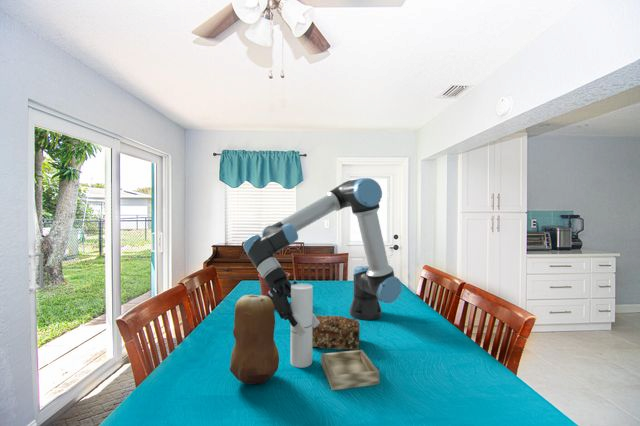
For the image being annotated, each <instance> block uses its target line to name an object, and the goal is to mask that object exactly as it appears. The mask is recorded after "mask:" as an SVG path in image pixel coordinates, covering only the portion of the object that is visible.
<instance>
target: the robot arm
mask: <svg viewBox="0 0 640 426" xmlns="http://www.w3.org/2000/svg"><path fill="white" fill-rule="evenodd" d="M382 197H383V191H382V188H381V185H380V184H379V182H377V181H376V180H375V179H374V178H369V177H365V178H364V177H361V178H357V179H353V180H351V179H350V180H347V181H344V182H343V183H340V184H339V185H338V186H336V187H334V188H333V189H331V190H329V191H328V192H327V193H326V195H325V196H324V197H322V198H319V199H318V200H316V201H313V202H312V203H310V204H309V205H307V206H305V207H303V208H301V209H300V210H297V211H296V212H294V213H293V214H290V215H289V216H286V217H285V218H283V219H281V220H279V221H278V222H276V223H274V224H272V225H268V226H265V227H264V228H263V229H262V231H261V235H259V234H254V235H251V236H249V237H248V238H246V240H245V241H244V242H243V244H242V246H243V247H242V248H243V250H244V251H245V253H246V256H247V257H248V258H249V260H250V261H251V263H252V265H253V266H254V267H255V269H256V270H257V272H258V274H260V275H261V276H262V278H263V279H264V281H265V283H266V284H267V286H268V287H269V288H271V290H270V291H269V292H268V293H267V295H268V296H269V297H270V299H271V300H272V302H273V304H274V306H275V308H274V309H275V310H276V312H277V314H278V316H279V317H280V319H282V320H284V321H287V320H288V322H289V323H290V326H291V325H292V326H293V327H294V328H295V329H296V331H297V333H298V334H299V336H302V335H303V334H304V333H305V332H306V329H305V328H304V326H303V325H302V323H301V322H300V320H299V319H298V317H297V316H296V315H295V314H293V315H292V311H291V304H290V302H289V299H291V286H292V285H294V284H298V282H297V281H296V280H295V281H293V282H291V281H290V280H287V274H286V273H285V272H286V271H285V270H284V269H283V267H282V266H281V264H280V262H279V261H278V259H277V258H276V257H275V256H274V255H276V254H277V253H279V252H281V251H283V250H284V249H286V248H287V247H289V246H291V245H293V244H295V242H296V241H298V240H299V234H298V232H299V231H301V230H302V229H305V228H306V227H308V226H310V225H311V224H313V223H315V222H316V221H318V220H320V219H322V218H324V217H325V216H327V215H329V214H331V213H333V212H334V211H335V212H339V211H340V210H342V209H345V208H349V207H351V211H352V214H353V215H354V216H356V218H357V223H358V226H359V227H358V228H359V232H360V234H361V239H362V244H363V248H364V253H365V258H366V262H367V265H362V266H356V267H354V269H353V275H352V276H353V298H352V301H351V304H350V307H349V315H350V316H351V317H352V318H354V319H359V320H365V321H366V320H367V321H371V320H378V319H380V318H382V313H383V312H382V308H381V305H380V302H381V303H385V304H391V303H393V302H395V301H396V300H397V299H398V298H399V297H400V295H401V294H402V290H403V285H402V281H401V280H400V278H398V277H397V276H395V272H394V268H393V267H392V266H391V265H389V261H388V258H387V252H386V247H385V243H384V239H383V238H384V237H383V234H382V229H381V225H380V220H379V216H378V212H379V209H380V202H381V199H382ZM316 316H317V315H316V314H315V313H314V312H313V320H312V326H313V327H314V328H315V327H316V326H317V325H318V324H320V322H319V321H318V319H317V318H316Z"/></svg>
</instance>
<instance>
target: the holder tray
mask: <svg viewBox="0 0 640 426" xmlns="http://www.w3.org/2000/svg"><path fill="white" fill-rule="evenodd" d="M320 360H321V361H320V366H321V367H322V369H323V372H324V374H325V377H326V379H327V381H328V383H329V387H330V388H331V391H336V390H337V391H338V390H344V389H345V390H346V389H352V388H353V389H354V388H361V387H367V386H374V385H375V386H376V385H380V371H379V370H378V369H377V367H376V366H375V364H373V363H374V362H373V361H371V359H370V357H368V355H367V354H366V353H365V352H364V350H363V349H357V350H347V351H338V352H336V351H335V352H327V353H321V354H320Z"/></svg>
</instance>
